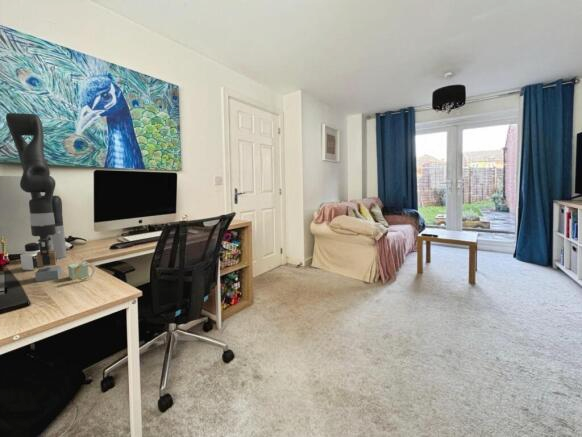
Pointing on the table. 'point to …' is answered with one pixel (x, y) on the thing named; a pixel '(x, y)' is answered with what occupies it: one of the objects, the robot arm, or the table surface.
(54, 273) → the base block
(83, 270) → the sage cube
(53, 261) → the walnut cube
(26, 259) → the medicine bottle
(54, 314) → the table surface
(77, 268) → the bracelet
